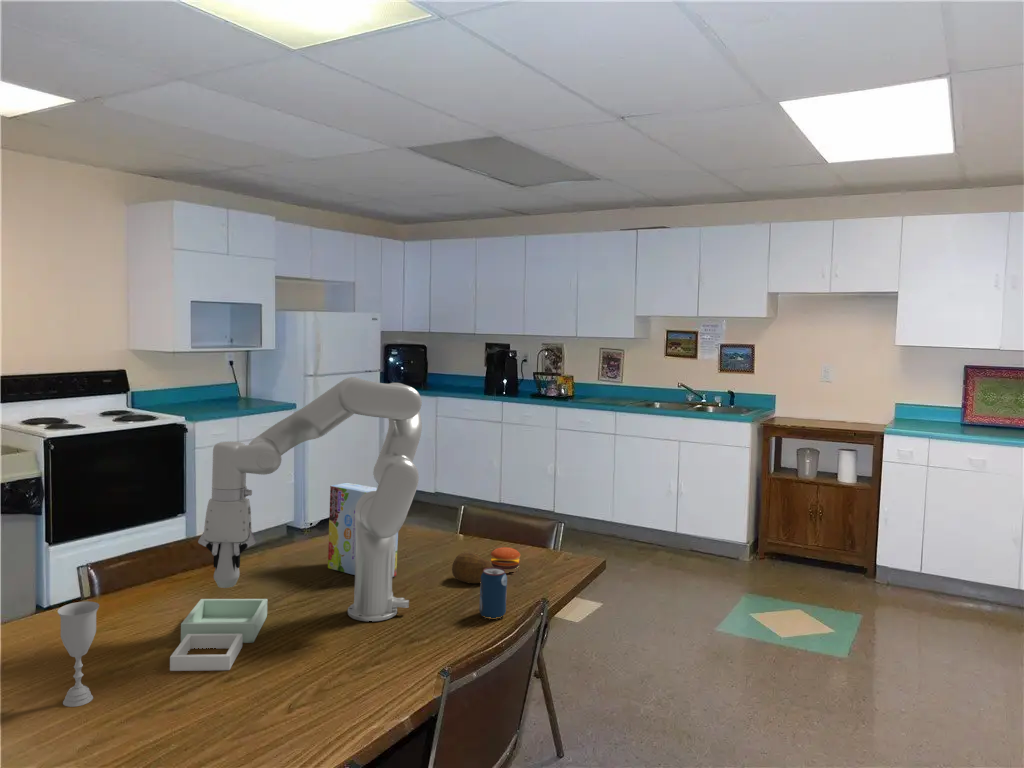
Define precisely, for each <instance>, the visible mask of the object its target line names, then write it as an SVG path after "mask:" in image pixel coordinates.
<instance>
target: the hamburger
mask: <svg viewBox="0 0 1024 768" xmlns="http://www.w3.org/2000/svg"><path fill="white" fill-rule="evenodd" d="M489 555H490V556H491V558H490V563H491V564H492V567H497V568H502V569H504V570H514V569H516V568H518V567H520V563H521V560H520V557H521V556H522V555H521V553H520V552H519V551H518V550H517V549H515V548H512V547H510V546H509V547H506V546H505V547H504V546H502V547H496V548H495V549H494V550H492V551H490V554H489Z"/></svg>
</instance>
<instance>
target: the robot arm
mask: <svg viewBox="0 0 1024 768" xmlns="http://www.w3.org/2000/svg"><path fill="white" fill-rule="evenodd" d="M422 404H423V403H422V397H421V394H420V393H419V391H418V390H416V389H415V388H414V387H412V386H410V385H407V384H404V383H401V382H390V383H384V382H383V383H382V382H377V381H370V380H365V379H362V378H360V377H356V376H355V377H354V376H353V377H352V376H351V377H347V378H344V379H343V380H342V381H339V383H336V384H335V385H334V386H333V387H331V388H329V389H328V390H326V391H325V392H323V393H322V394H321V395H320V396H318V397H317V398H315V399H314V400H312V401H311V402H309V403H307V404H306V405H305V406H304V407H302V408H300V409H298V410H296V411H294V412H293V413H292V414H290V415H288V416H287V417H285V418H283V419H282V420H280V421H278V422H277V423H275V424H274V425H272V426H271V427H269V428H268V429H266V430H264V431H263V432H262V433H261V434H259V435H257V436H256V437H255V438H253V439H252V440H251V441H250V442H249V443H248V444H247V445H246V444H245V443H243V442H241V441H240V442H239V441H221V442H217V443H215V444H214V446H213V449H212V475H211V498H209V499H208V502H207V505H206V512H205V519H204V527H203V532H202V533H201V536H200V537H199V539H198V541H197V543H198V544H199V545H201V546H203V547H206V549H207V550H208V551H210V553H211V554H212V556H213V568H216V569H217V565H218V560H219V549H220V545H221V543H222V542H223V541H224V540H225V539H227V541H228V542H231V543H234V556H232V561H233V568H234V572H235V563H236V567H237V568H239V569H240V566H241V554H242V553H243V552H244V551H245V550H247V549H248V548H250V547H251V546H254V545H256V543H257V539H256V537H255V535H254V533H253V527H252V510H251V503H250V499H249V498H247V497H249V496H252V494H253V490H252V489H248V488H247V474H253V475H261V476H262V475H263V476H265V475H271V474H273V473H274V472H276V471H277V470H278V469H279V468H280V466H281V465H282V461H283V460H282V456H283V455H284V454H286V453H287V452H288V451H290V450H291V449H293V448H294V447H296V446H299V445H300V444H301V443H305V442H307V441H311V440H316V439H320V438H321V437H323V436H325V435H327V434H328V433H329V432H331V431H333V429H335V428H336V427H338V426H339V425H340V424H342V423H343V422H345V421H346V420H348V419H349V418H351V417H352V416H354V415H359V416H360V415H361V416H365V417H371V418H372V417H373V418H381V419H383V418H384V419H388V427H387V432H386V436H385V439H384V442H383V444H382V446H381V447H382V448H381V449H380V452H379V455H378V456H377V459H376V462H375V464H374V467H373V471H372V473H373V474H372V475H373V478H374V480H375V482H376V484H378V485H377V487H376V488H377V490H376V491H370V492H367V493H365V494H364V495H363V496H362V497H361V498H360V499H359V500H358V502H357V505H356V509H355V525H356V560H355V575H354V590H353V591H354V593H353V594H354V596H353V597H354V598H353V603H352V604H350V606H348V607H347V615H348V616H349V617H350V618H351V619H353V620H356V621H360V622H369V621H372V622H382V621H386V620H389V619H391V618H393V617H395V616H396V615H397V614H398V608H403V609H404V608H406V609H407V608H409V607H410V606H409V605H410V599H405V597H396V596H394V592H393V577H392V572H393V547H394V540H393V535H395V534H396V533H397V532H398V533H399V531H400V530H401V529H402V528H403V525H404V523H405V521H406V518H407V516H408V513H409V511H410V508H411V505H412V503H413V501H414V497H415V495H416V492H417V489H418V486H419V480H420V479H419V478H420V476H419V470H418V468H417V466H416V465H415V463H414V461H413V460H415V459H414V458H415V456H416V452H417V449H418V446H419V443H420V441H421V437H422V431H423V430H422V428H423V426H422V424H423V423H422V418H421V417H422V416H421V413H420V411H421V410H422V409H421V407H422Z"/></svg>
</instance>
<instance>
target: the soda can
mask: <svg viewBox="0 0 1024 768" xmlns="http://www.w3.org/2000/svg"><path fill="white" fill-rule="evenodd" d="M479 585H480V588H479V590H480V591H479V609H478V610H479V614H480V615H481V617H482V616H485V617H491V618H496V617H501V616H503V615H504V616H505V614H506V611H507V596H508V595H507V593H508V592H507V591H508V575H507V573H505V570H504V569H502V568H497V567H490V568H485V569H484V570H483V573H482V575H481V583H480V584H479ZM504 616H503V617H504Z"/></svg>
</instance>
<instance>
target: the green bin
mask: <svg viewBox="0 0 1024 768" xmlns="http://www.w3.org/2000/svg"><path fill="white" fill-rule="evenodd" d="M267 617H268V598H200V600H199V601H198V602H197V603H196V605H195V606H193V608H192V610H190V612H189V613H188V614H187V616H186V617H185V619H183V621H182V622H181V623H180V643H181V642H182V641H183V639H184V638H185V637H186V635H187V634H243V644H250V643H252V644H254V643H255V641H256V639H257V636H258V634H259V633H260V631H261V629H262V627H263V626H264V624H265V621H266V620H267Z"/></svg>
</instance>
